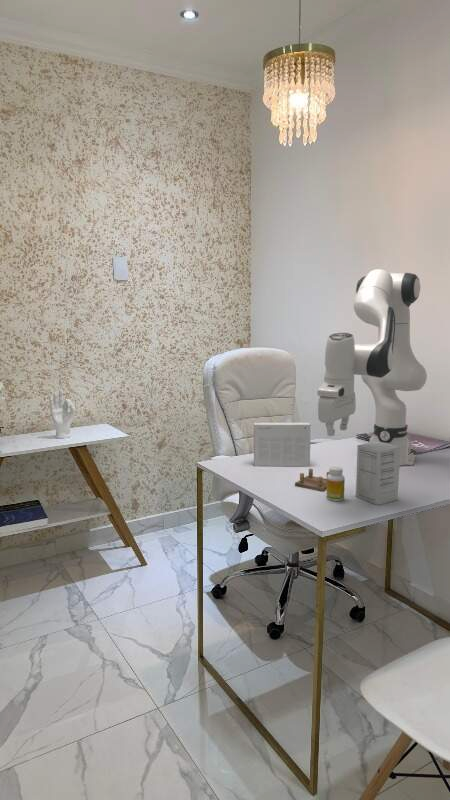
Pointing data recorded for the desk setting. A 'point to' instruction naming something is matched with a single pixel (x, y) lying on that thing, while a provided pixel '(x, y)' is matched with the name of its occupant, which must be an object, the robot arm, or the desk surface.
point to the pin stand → (312, 481)
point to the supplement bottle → (335, 484)
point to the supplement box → (377, 472)
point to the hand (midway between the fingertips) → (337, 432)
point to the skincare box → (282, 444)
